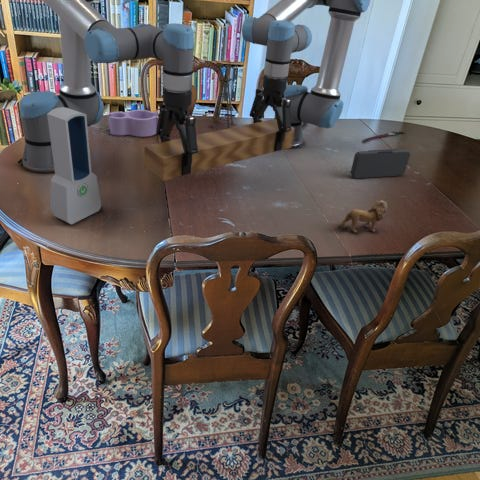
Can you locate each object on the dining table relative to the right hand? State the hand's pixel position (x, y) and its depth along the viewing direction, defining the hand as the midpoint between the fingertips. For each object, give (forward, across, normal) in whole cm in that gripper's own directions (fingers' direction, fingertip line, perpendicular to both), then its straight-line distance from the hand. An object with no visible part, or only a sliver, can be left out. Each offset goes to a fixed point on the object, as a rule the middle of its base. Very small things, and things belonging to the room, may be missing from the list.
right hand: (266, 144), depth 156 cm
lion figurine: (+14, -40, -4) cm, 42 cm away
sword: (+15, +4, -83) cm, 84 cm away
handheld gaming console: (+14, -19, -42) cm, 49 cm away
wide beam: (0, 0, +18) cm, 18 cm away
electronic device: (+13, +12, +62) cm, 65 cm away
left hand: (0, 0, +36) cm, 37 cm away
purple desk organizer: (+14, +62, +14) cm, 65 cm away
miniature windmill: (+14, +51, -24) cm, 58 cm away
